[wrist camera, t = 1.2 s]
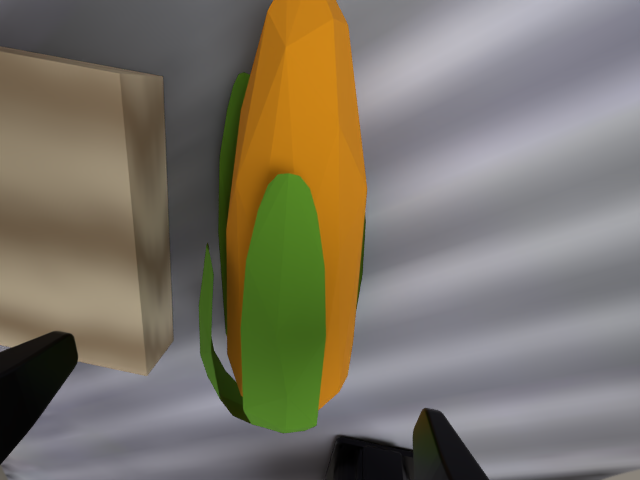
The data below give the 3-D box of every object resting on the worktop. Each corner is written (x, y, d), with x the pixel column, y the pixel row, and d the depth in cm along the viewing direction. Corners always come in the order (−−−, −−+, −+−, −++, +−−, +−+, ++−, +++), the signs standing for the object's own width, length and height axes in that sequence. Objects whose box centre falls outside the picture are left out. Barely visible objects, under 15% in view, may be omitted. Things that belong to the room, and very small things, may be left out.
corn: (186, 481, 15) (80, -123, 6) (233, 356, 22) (212, -14, 13) (348, 494, 15) (461, -93, 6) (343, 365, 22) (394, 0, 13)
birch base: (173, 340, 22) (147, 376, 19) (2, 304, 22) (-48, 334, 19) (162, 76, 15) (119, 73, 12) (-86, 30, 15) (-181, 17, 13)
